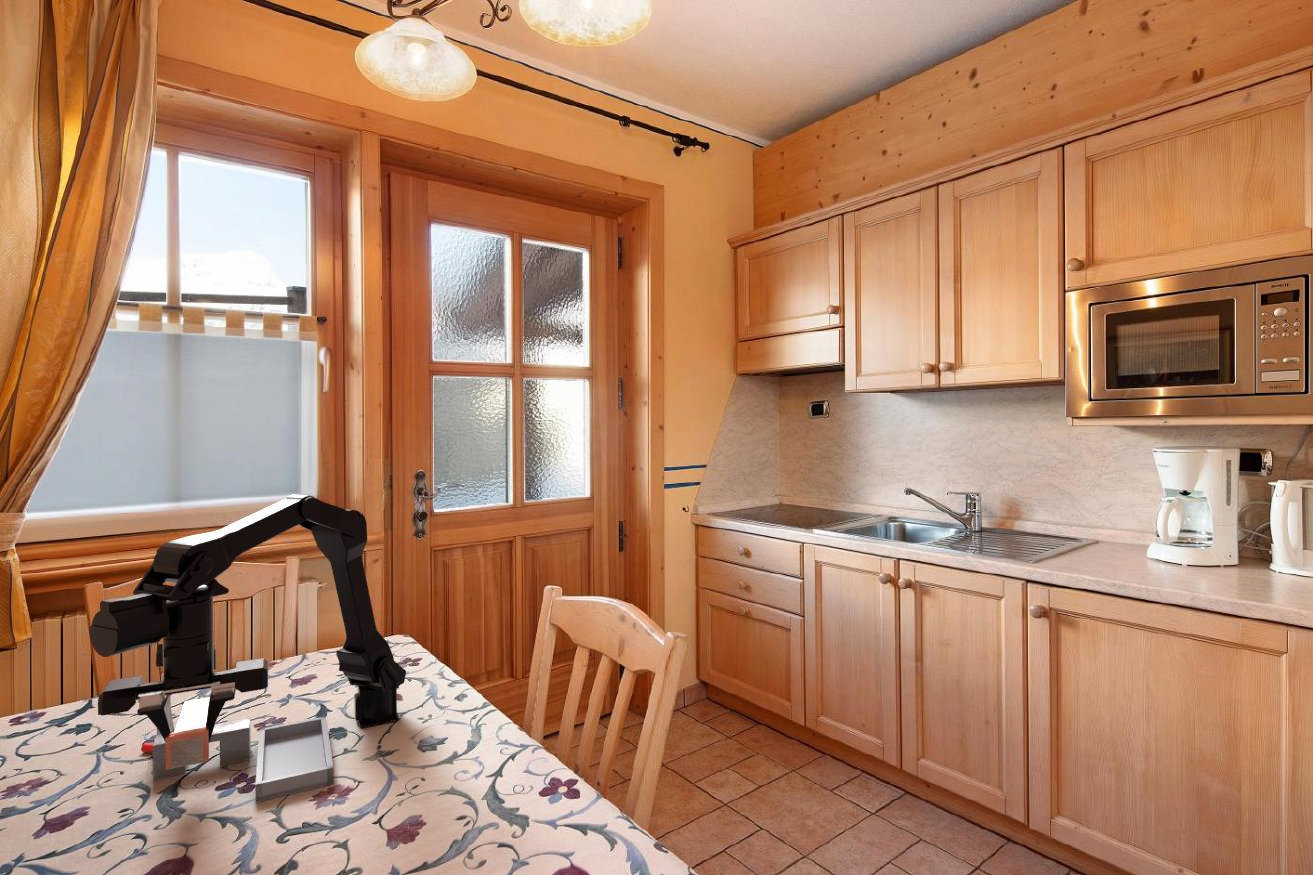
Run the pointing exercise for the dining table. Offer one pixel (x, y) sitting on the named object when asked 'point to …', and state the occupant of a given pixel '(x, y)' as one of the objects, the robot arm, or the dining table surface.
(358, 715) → the robot arm
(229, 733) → the block
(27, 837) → the dining table surface
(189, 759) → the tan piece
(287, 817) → the dining table surface
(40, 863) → the dining table surface
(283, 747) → the tray
